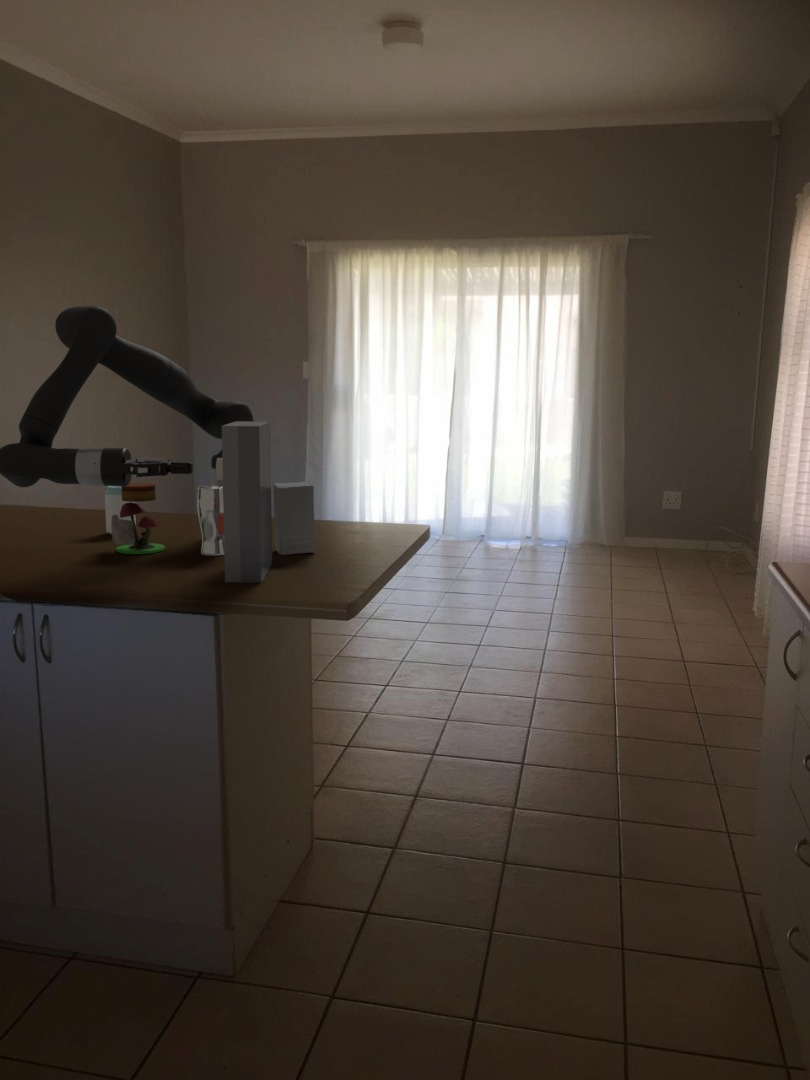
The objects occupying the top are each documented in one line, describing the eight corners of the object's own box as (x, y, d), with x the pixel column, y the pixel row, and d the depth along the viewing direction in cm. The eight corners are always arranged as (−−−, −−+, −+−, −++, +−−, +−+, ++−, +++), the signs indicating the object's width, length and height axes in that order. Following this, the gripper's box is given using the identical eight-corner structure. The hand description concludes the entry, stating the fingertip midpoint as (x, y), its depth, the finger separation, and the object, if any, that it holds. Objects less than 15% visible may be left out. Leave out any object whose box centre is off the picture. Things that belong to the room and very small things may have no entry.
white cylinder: (216, 481, 174) (215, 458, 173) (220, 478, 178) (219, 456, 178) (241, 481, 174) (241, 459, 174) (244, 479, 179) (244, 457, 178)
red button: (217, 536, 176) (216, 514, 175) (221, 532, 180) (220, 511, 180) (242, 536, 176) (242, 514, 176) (245, 532, 181) (245, 511, 180)
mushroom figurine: (149, 543, 210) (146, 480, 208) (176, 550, 201) (174, 485, 199) (101, 549, 202) (98, 483, 199) (128, 557, 193) (125, 489, 191)
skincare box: (309, 548, 206) (308, 480, 204) (316, 554, 200) (315, 484, 197) (273, 550, 204) (272, 481, 201) (278, 556, 197) (278, 485, 194)
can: (100, 534, 220) (98, 486, 218) (119, 530, 227) (117, 483, 225) (123, 536, 218) (121, 488, 216) (141, 532, 224) (140, 485, 222)
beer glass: (203, 557, 194) (201, 489, 192) (195, 551, 200) (193, 485, 198) (234, 554, 198) (232, 488, 195) (225, 549, 204) (223, 484, 201)
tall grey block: (225, 582, 171) (221, 425, 166) (239, 563, 189) (236, 421, 183) (261, 582, 171) (259, 426, 166) (272, 563, 189) (270, 421, 184)
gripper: (92, 450, 168) (185, 451, 168) (112, 445, 181) (198, 446, 181) (94, 489, 169) (186, 490, 170) (114, 482, 182) (199, 483, 183)
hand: (192, 468), depth 176 cm, fingers closed
